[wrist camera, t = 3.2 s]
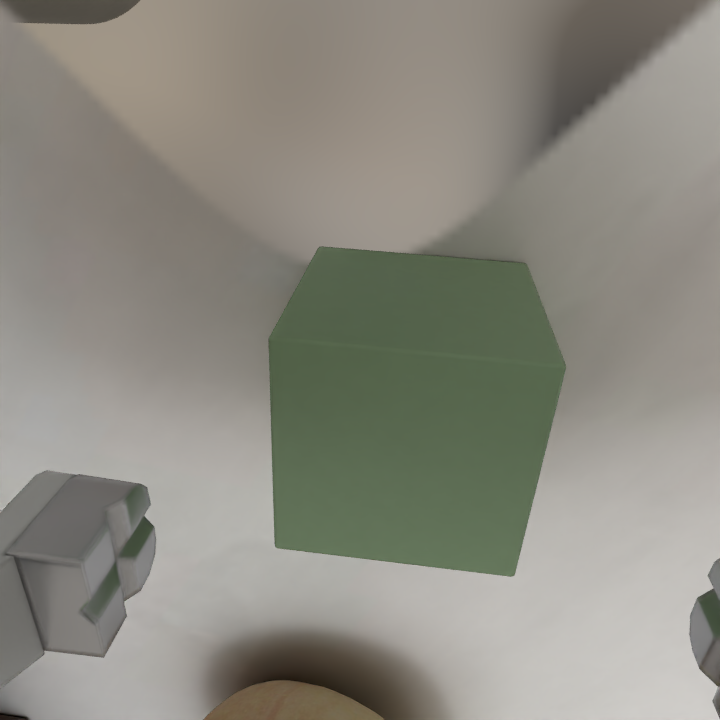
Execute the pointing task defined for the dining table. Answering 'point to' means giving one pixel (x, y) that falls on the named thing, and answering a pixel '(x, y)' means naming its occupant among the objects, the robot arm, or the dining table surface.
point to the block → (411, 409)
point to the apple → (290, 704)
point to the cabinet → (10, 718)
